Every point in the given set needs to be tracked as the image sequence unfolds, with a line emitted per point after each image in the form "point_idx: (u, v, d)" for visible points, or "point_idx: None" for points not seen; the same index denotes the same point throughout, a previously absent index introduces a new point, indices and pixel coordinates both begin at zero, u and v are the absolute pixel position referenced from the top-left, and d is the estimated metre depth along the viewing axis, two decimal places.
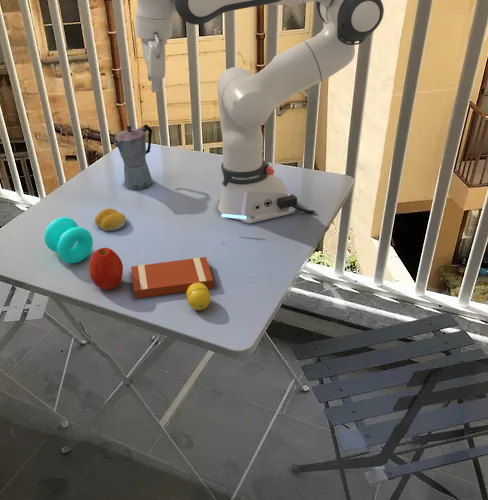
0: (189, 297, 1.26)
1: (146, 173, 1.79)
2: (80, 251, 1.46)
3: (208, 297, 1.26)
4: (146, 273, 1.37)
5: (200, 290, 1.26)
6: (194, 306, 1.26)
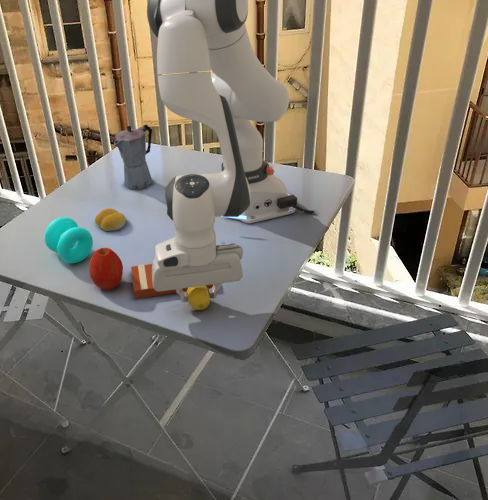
0: (189, 297, 1.26)
1: (146, 173, 1.79)
2: (80, 251, 1.46)
3: (208, 297, 1.26)
4: (146, 273, 1.37)
5: (200, 290, 1.26)
6: (194, 306, 1.26)
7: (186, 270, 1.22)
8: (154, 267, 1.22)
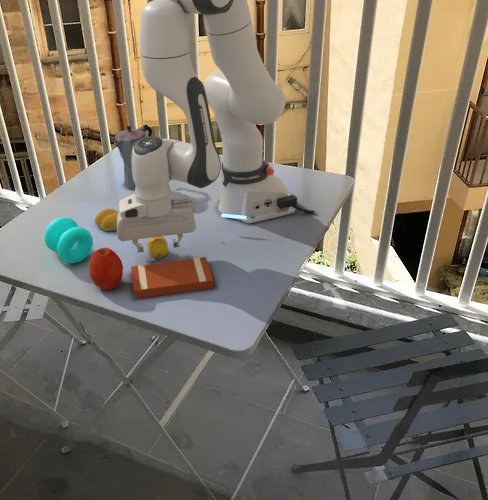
0: (149, 246, 1.45)
1: None
2: (80, 251, 1.46)
3: (166, 247, 1.44)
4: (146, 273, 1.37)
5: (159, 240, 1.44)
6: (153, 254, 1.44)
7: (146, 222, 1.40)
8: (118, 219, 1.40)
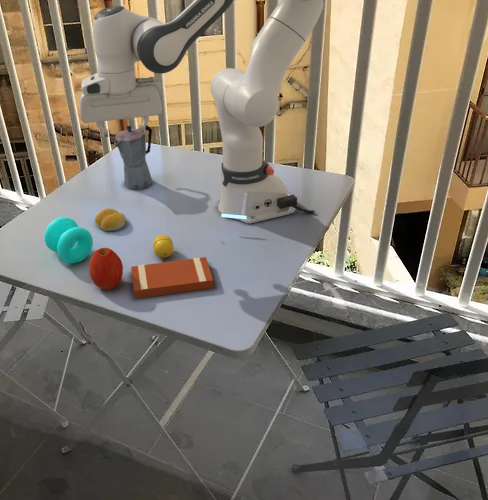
0: (158, 242, 1.44)
1: (146, 173, 1.79)
2: (80, 251, 1.46)
3: (172, 250, 1.45)
4: (146, 273, 1.37)
5: (170, 241, 1.45)
6: (159, 251, 1.44)
7: (109, 101, 1.35)
8: (80, 98, 1.35)
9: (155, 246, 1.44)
